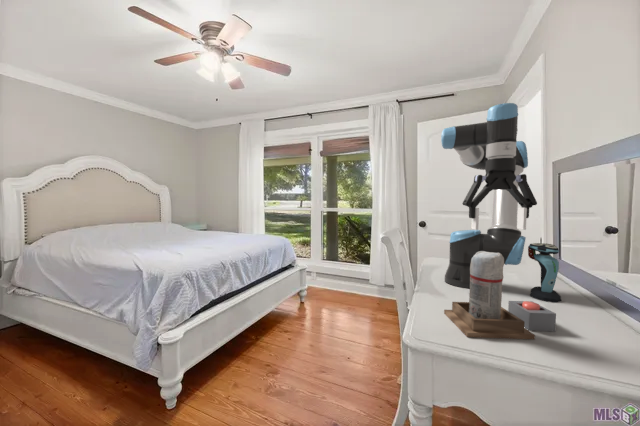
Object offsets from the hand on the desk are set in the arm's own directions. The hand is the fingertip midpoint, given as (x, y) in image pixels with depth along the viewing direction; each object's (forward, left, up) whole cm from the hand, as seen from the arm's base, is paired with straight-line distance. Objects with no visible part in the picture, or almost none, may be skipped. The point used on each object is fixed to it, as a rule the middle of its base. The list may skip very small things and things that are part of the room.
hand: (497, 229), depth 82 cm
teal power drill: (-20, +29, -28) cm, 45 cm away
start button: (+4, +8, -24) cm, 25 cm away
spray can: (+6, -6, -26) cm, 28 cm away
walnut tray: (+6, -6, -27) cm, 29 cm away
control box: (+4, +8, -27) cm, 29 cm away
